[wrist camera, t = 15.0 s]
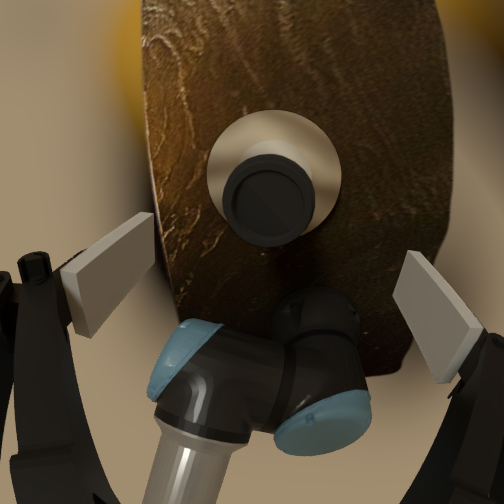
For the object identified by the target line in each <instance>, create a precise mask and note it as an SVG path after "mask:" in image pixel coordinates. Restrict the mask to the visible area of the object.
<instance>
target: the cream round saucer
mask: <svg viewBox="0 0 504 504" xmlns="http://www.w3.org/2000/svg"><path fill="white" fill-rule="evenodd" d="M261 154H278V155H282V156H285V157H287V158H289V159H291V160H293V161H295V162H296V163H297V164H298V165H300V166H301V167H302V168H303V169H304V170H305V171H306V173H307V174H308V176H309V177H310V179H311V181H312V184H313V187H314V190H315V210H314V214H313V218H312V220H311V222H310V224H309V225H308V227H307V229H306V230H305V231H304V232H303V233H302V234H301V235H304V234H306V233H307V232H309V231H311V230H313V229H314V228H315V227H317V226H318V225H319V224H320V223H321V222H322V221H323V220H324V219H325V218H326V217H327V216H328V214H329V213H330V212H331V210H332V208H333V207H334V205H335V202H336V200H337V198H338V194H339V191H340V185H341V168H340V162H339V158H338V155H337V153H336V150H335V148H334V146H333V144H332V143H331V141H330V139H329V138H328V137H327V136H326V134H325V133H324V132H323V131H322V130H321V129H320V128H319V127H318V126H317V125H315V124H314V123H312V122H311V121H310V120H308V119H306V118H304V117H302V116H300V115H297V114H294V113H291V112H287V111H280V110H266V111H260V112H255V113H252V114H249V115H247V116H245V117H242V118H240V119H239V120H237V121H236V122H234V123H233V124H231V125H230V126H229V127H228V128H227V129H226V130H225V131H224V132H223V133H222V134H221V135H220V137H219V138H218V140H217V141H216V143H215V145H214V147H213V149H212V151H211V154H210V157H209V161H208V167H207V182H208V188H209V192H210V195H211V198H212V200H213V202H214V204H215V206H216V208H217V210H218V211H219V212H220V214H221V215H222V216H223V217H224V219H225V220H226V217H225V215H224V212H223V205H222V196H223V190H224V187H225V184H226V182H227V180H228V177H229V175H230V174H231V173H232V171H233V170H234V169H235V168H236V167H237V166H238V165H239V164H240V163H242V162H243V161H245V160H246V159H248V158H251V157H254V156H257V155H261ZM226 221H227V220H226ZM301 235H300V236H301Z"/></svg>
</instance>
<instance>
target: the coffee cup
mask: <svg viewBox="0 0 504 504" xmlns="http://www.w3.org/2000/svg"><path fill="white" fill-rule="evenodd" d="M222 205H223V212H224V215H225V217H226V220H227V222H228V224H229V225H230V226H231V228H232V229H233V230H234V232H235V233H236V234H238V235H239V236H240V237H241V238H242V239H244V240H245V241H247V242H249V243H251V244H254V245H257V246H262V247H277V246H280V245H283V244H287V243H289V242H291V241H292V240H294V239H296V238H297V237H299V236H300V235H301V234H302V233H303V232H304V231H305V230H306V229H307V227H308V225H309V224H310V222H311V220H312V218H313V214H314V210H315V190H314V187H313V184H312V181H311V179H310V177H309V176H308V174H307V173H306V171H305V170H304V169H303V168H302V167H301V166H300V165H298V164H297V163H296V162H295V161H293V160H291V159H289V158H287V157H285V156H282V155H278V154H261V155H257V156H254V157H251V158H248V159H246V160H245V161H243V162H242V163H240V164H239V165H238V166H237V167H236V168H235V169H234V170H233V171H232V173H231V174H230V175H229V177H228V180H227V182H226V184H225V187H224V190H223V196H222Z"/></svg>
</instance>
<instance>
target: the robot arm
mask: <svg viewBox="0 0 504 504" xmlns="http://www.w3.org/2000/svg"><path fill="white" fill-rule="evenodd" d="M154 263H155V255H154V214H152V213H144V212H140V213H138V214H137V215H135V216H134V217H133V218H131V219H129V220H128V221H126V222H125V223H123V224H122V225H120V226H119V227H118V228H116V229H115V230H113V231H112V232H110V233H109V234H108V235H106V236H105V237H103V238H102V239H100V240H99V241H98V242H96V243H95V244H93V245H92V246H91V247H89V248H87V249H85V250H82V251H80V252H79V253H77V254H76V255H74V256H73V258H70V259H69V260H68V261H67V262H65V263H64V264H63V265H61V266H60V267H58V268H57V269H56V270H55V271H53V272H52V268H51V262H50V257H49V254H48V253H46V252H41V251H38V252H32V253H29V254H26V255H24V256H22V257H21V258H20V259H19V260H18V262H17V264H18V268H19V272H20V276H21V280H22V284H19V283H18V284H17V283H12V279H11V276H10V273H9V272H6V271H0V458H1V448H2V439H3V432H4V426H5V420H6V414H7V409H8V404H9V399H10V394H11V390H12V386H13V382H14V409H15V422H16V433H17V441H18V454H16V455H12V456H11V458H10V461H9V462H10V473H11V479H12V484H13V488H14V493H15V497H16V501H17V504H120V502H119V501H118V499H117V497H116V496H115V494H114V492H113V491H112V489H111V487H110V485H109V482H108V480H107V478H106V475H105V473H104V470H103V468H102V465H101V462H100V460H99V457H98V454H97V451H96V448H95V445H94V442H93V439H92V436H91V433H90V429H89V426H88V423H87V419H86V416H85V412H84V409H83V404H82V401H81V396H80V393H79V388H78V383H77V379H76V374H75V369H74V363H73V358H72V352H71V346H70V340H69V333H68V330H67V326H68V325H69V324H70V323H71V322H72V323H73V326H74V330H75V333H76V334H79V335H82V336H85V337H87V338H90V339H91V338H92V337H93V335H94V334H95V333H96V332H97V330H98V329H99V328H100V327H101V325H102V324H103V323H104V322H105V320H106V319H107V318H108V317H109V315H110V314H111V313H112V312H113V310H114V309H115V308H116V307H117V306H118V305H119V303H120V302H121V301H122V300H123V299H124V297H125V296H126V295H127V294H128V293H129V291H130V290H131V289H132V288H133V287H134V285H135V284H136V283H137V282H138V281H139V280H140V279H141V277H142V276H143V275H144V274H145V273H146V272H147V271H148V269H149V268H150V267H151V266H152V265H153V264H154ZM393 298H394V300H395V301H396V303H397V305H398V307H399V309H400V311H401V312H402V314H403V316H404V318H405V320H406V322H407V324H408V326H409V328H410V330H411V332H412V334H413V336H414V338H415V340H416V341H417V344H418V346H419V348H420V350H421V352H422V354H423V356H424V358H425V360H426V363H427V365H428V367H429V369H430V371H431V374H432V376H433V378H434V380H435V382H436V384H444V383H450V382H451V381H452V380H453V378H454V377H455V375H456V374H457V372H458V373H459V375H460V377H461V379H460V381H459V382H458V384H457V385H456V386H455V388H454V389H453V390H452V392H451V393H450V394H449V396H448V397H447V398H448V399H449V398H450V397H451V396H452V399H451V402H450V404H449V407H448V410H447V412H446V415H445V417H444V420H443V422H442V425H441V427H440V429H439V431H438V434H437V436H436V438H435V440H434V443H433V445H432V447H431V449H430V451H429V453H428V455H427V457H426V459H425V461H424V463H423V464H422V466H421V468H420V470H419V472H418V474H417V475H416V477H415V479H414V481H413V483H412V485H411V486H410V488H409V489H408V491H407V492H406V494H405V496H404V497H403V499H402V500H401V502H400V504H504V337H502V336H501V335H499V334H496V333H488V332H487V331H486V329H485V328H484V327H483V325H482V324H481V323H480V321H479V320H478V319H477V318H476V316H475V315H474V314H473V313H472V311H471V310H470V309H469V307H468V306H467V305H466V304H465V303H464V302H463V301H462V300H461V298H460V297H459V296H458V295H457V294H456V292H455V291H454V290H453V289H452V288H451V287H450V285H449V284H448V283H447V282H446V281H445V279H444V278H443V277H442V276H441V275H440V274H439V273H438V272H437V270H436V269H435V268H434V267H433V266H432V265H431V264H430V263H429V262H428V261H427V259H426V258H425V257H424V256H423V255H422V254H421V253H420V252H416V251H410V250H408V251H407V255H406V258H405V261H404V264H403V267H402V270H401V273H400V276H399V279H398V282H397V285H396V287H395V290H394V293H393ZM360 327H361V323H360V317H359V313H358V310H357V308H356V305H355V303H354V302H353V301H352V299H351V298H350V297H349V296H348V295H346V294H345V293H343V292H342V291H340V290H338V289H335V288H331V287H326V286H311V287H306V288H302V289H299V290H297V291H294V292H292V293H291V294H289V295H288V296H286V297H285V298H284V299H283V300H282V301H281V302H280V303H279V304H278V305H277V307H276V308H275V310H274V312H273V315H272V318H271V329H270V332H271V338H272V340H268V339H264V338H261V337H257V336H254V335H250V334H247V333H244V332H240V331H237V330H234V329H231V328H227V327H224V324H214V323H211V322H207V321H203V320H200V319H188V320H186V321H184V322H182V323H181V324H180V325H179V326H178V327H177V328H176V330H175V331H174V332H173V334H172V335H171V337H170V338H169V340H168V342H167V343H166V345H165V347H164V348H163V350H162V352H161V354H160V356H159V358H158V360H157V362H156V364H155V367H154V369H153V371H152V374H151V377H150V382H149V385H148V387H147V396H148V398H150V399H151V400H152V402H157V407H156V410H155V413H154V419H155V420H156V422H157V424H158V425H159V427H160V429H161V432H162V435H161V438H160V441H159V445H158V448H157V452H156V455H155V459H154V462H153V466H152V469H151V473H150V477H149V480H148V484H147V487H146V491H145V495H144V499H143V502H142V504H216V500H217V498H218V494H219V491H220V488H221V485H222V482H223V479H224V476H225V473H226V470H227V466H228V463H229V460H230V457H231V454H232V453H233V452H234V451H236V450H238V449H240V448H242V447H244V446H246V445H247V444H248V442H249V439H250V436H251V432H252V431H253V430H255V431H261V432H266V433H270V434H274V441H275V444H276V446H277V448H278V449H280V450H283V452H285V453H287V454H290V455H295V456H314V455H321V454H326V453H330V452H333V451H336V450H339V449H341V448H344V447H346V446H348V445H350V444H351V443H353V442H355V441H356V440H357V439H359V438H360V437H361V436H362V435H363V434H364V433H365V432H366V430H367V429H368V427H369V426H370V423H371V419H372V413H371V405H370V400H371V396H370V394H369V391H368V387H367V383H366V379H365V375H364V372H363V368H362V364H361V360H360V357H359V353H358V350H357V345H358V339H359V334H360Z"/></svg>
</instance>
